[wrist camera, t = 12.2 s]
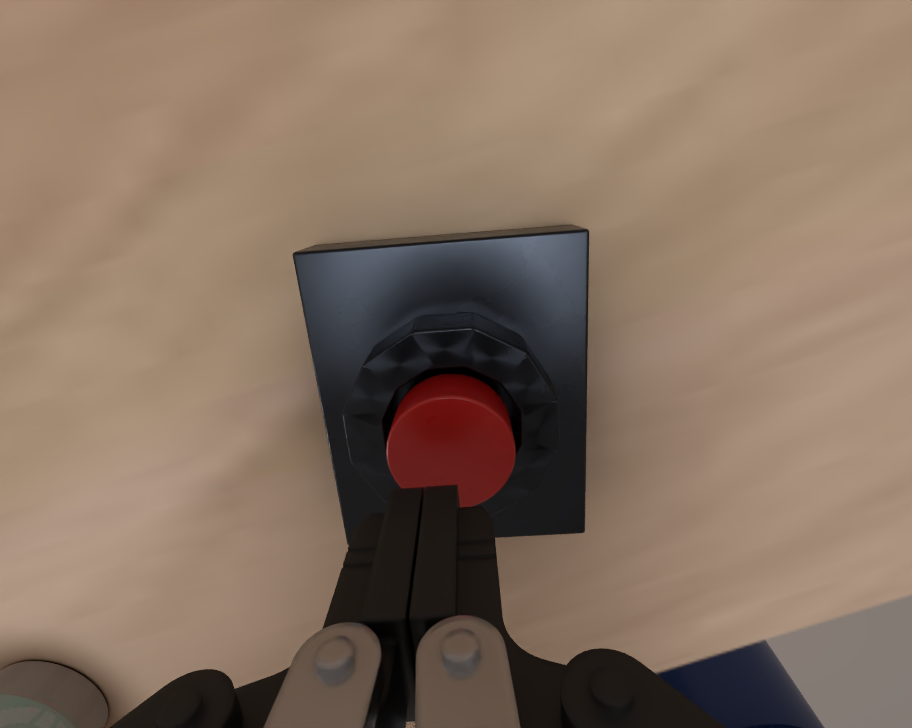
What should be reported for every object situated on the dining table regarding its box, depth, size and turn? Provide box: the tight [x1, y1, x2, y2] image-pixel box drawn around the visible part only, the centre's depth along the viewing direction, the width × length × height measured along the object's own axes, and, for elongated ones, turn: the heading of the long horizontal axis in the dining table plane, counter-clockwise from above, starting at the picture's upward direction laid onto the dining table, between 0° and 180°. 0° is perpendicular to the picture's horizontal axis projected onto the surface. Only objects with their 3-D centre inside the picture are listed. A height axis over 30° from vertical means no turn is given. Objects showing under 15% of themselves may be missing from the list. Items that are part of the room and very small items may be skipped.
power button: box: [386, 374, 516, 507], centre depth 14 cm, size 4×4×2 cm
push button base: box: [293, 225, 589, 545], centre depth 16 cm, size 11×9×4 cm
